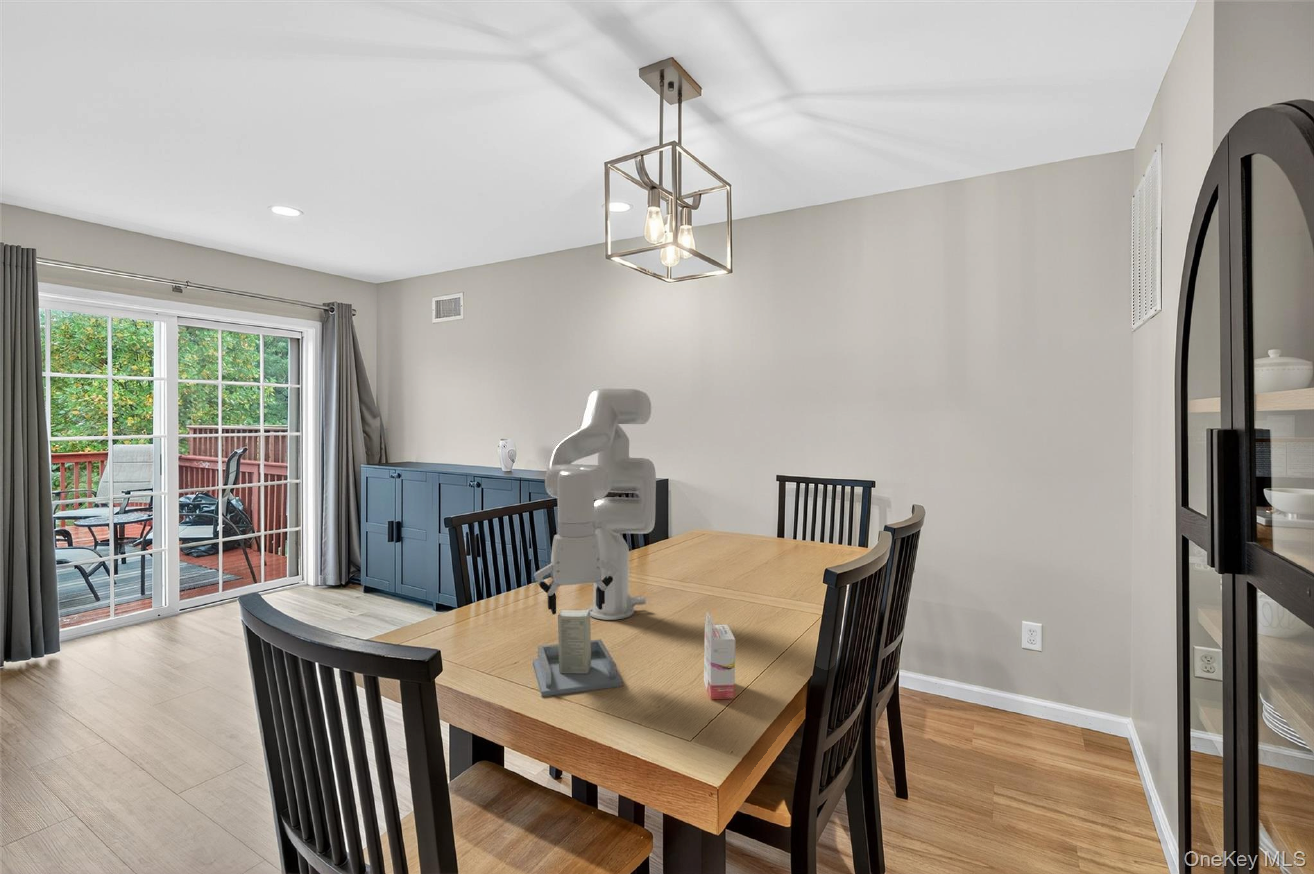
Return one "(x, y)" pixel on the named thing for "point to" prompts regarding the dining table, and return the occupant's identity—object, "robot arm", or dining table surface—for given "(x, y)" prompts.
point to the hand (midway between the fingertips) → (576, 609)
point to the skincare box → (574, 641)
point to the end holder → (562, 683)
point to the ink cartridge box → (719, 660)
